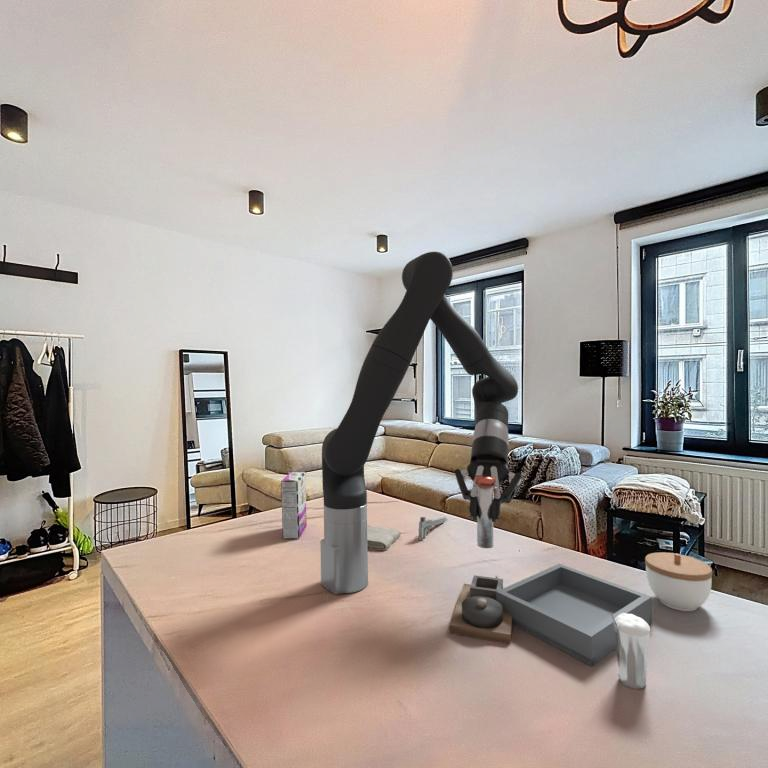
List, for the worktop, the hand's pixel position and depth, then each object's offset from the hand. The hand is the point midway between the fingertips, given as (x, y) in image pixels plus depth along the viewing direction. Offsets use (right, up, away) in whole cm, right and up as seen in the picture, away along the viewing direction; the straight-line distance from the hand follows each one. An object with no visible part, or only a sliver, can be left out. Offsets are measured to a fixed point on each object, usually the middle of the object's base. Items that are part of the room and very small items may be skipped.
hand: (484, 518), depth 83 cm
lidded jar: (+37, -17, +1) cm, 41 cm away
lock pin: (+1, -6, +2) cm, 6 cm away
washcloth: (-24, -18, +38) cm, 49 cm away
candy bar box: (-45, -18, +44) cm, 65 cm away
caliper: (-4, -17, +45) cm, 49 cm away
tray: (+15, -17, -4) cm, 23 cm away
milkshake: (+16, -17, -20) cm, 31 cm away
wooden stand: (0, -17, -2) cm, 17 cm away
